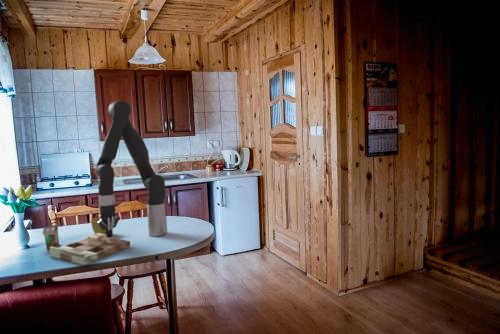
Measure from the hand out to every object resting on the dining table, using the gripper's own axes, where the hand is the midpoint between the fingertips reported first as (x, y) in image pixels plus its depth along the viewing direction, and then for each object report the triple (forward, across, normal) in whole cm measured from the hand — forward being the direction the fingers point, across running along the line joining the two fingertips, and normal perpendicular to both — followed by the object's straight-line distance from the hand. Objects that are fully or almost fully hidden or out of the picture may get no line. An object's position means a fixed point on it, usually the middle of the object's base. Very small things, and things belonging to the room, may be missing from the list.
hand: (109, 237), depth 186 cm
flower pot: (+4, -10, -18) cm, 21 cm away
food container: (+4, +16, -25) cm, 30 cm away
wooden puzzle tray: (+4, +11, 0) cm, 12 cm away
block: (+1, +7, 0) cm, 7 cm away
